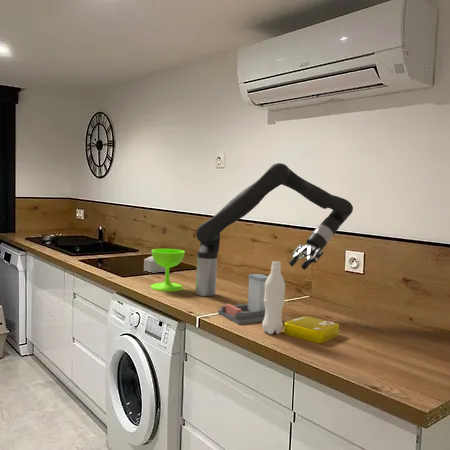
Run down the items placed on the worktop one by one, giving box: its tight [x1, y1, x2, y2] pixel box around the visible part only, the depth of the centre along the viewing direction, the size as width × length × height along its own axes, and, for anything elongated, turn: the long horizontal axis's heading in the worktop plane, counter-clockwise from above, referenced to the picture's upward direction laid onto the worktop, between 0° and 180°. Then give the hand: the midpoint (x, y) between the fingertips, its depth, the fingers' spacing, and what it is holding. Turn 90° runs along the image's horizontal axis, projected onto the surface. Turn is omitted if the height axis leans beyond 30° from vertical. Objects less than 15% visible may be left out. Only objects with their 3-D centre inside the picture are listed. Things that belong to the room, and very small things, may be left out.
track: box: [217, 303, 265, 326], centre depth 185 cm, size 16×18×4 cm
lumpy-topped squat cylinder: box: [143, 255, 166, 274], centre depth 272 cm, size 10×13×9 cm
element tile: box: [283, 315, 340, 344], centre depth 167 cm, size 15×15×5 cm
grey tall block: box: [247, 273, 269, 311], centre depth 187 cm, size 8×5×14 cm, turn 29°
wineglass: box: [149, 248, 186, 292], centre depth 230 cm, size 16×16×18 cm
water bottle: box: [261, 260, 286, 335], centre depth 166 cm, size 7×7×25 cm
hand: (296, 266), depth 195 cm, fingers open, 8 cm apart
